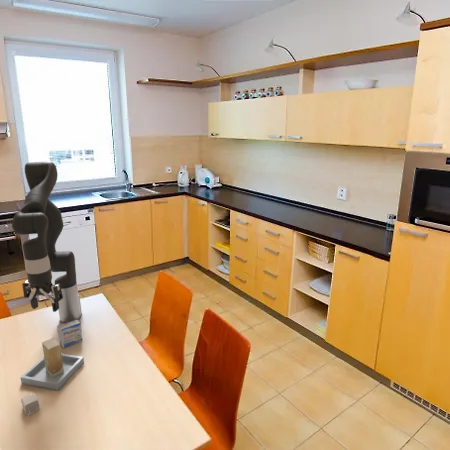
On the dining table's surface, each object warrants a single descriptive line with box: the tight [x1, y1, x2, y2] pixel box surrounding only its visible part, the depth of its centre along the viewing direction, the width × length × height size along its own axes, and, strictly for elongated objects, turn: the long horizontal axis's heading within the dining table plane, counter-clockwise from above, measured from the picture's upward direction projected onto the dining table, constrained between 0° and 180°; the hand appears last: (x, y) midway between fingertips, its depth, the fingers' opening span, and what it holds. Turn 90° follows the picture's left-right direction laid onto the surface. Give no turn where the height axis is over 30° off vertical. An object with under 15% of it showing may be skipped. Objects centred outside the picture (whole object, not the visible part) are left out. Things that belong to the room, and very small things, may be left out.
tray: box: [20, 352, 85, 392], centre depth 130 cm, size 15×15×3 cm
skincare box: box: [41, 337, 64, 378], centre depth 129 cm, size 6×4×12 cm
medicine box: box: [57, 319, 83, 348], centre depth 148 cm, size 8×4×9 cm, turn 131°
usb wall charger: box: [20, 392, 40, 416], centre depth 113 cm, size 4×7×4 cm, turn 41°
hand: (45, 309), depth 128 cm, fingers open, 8 cm apart
